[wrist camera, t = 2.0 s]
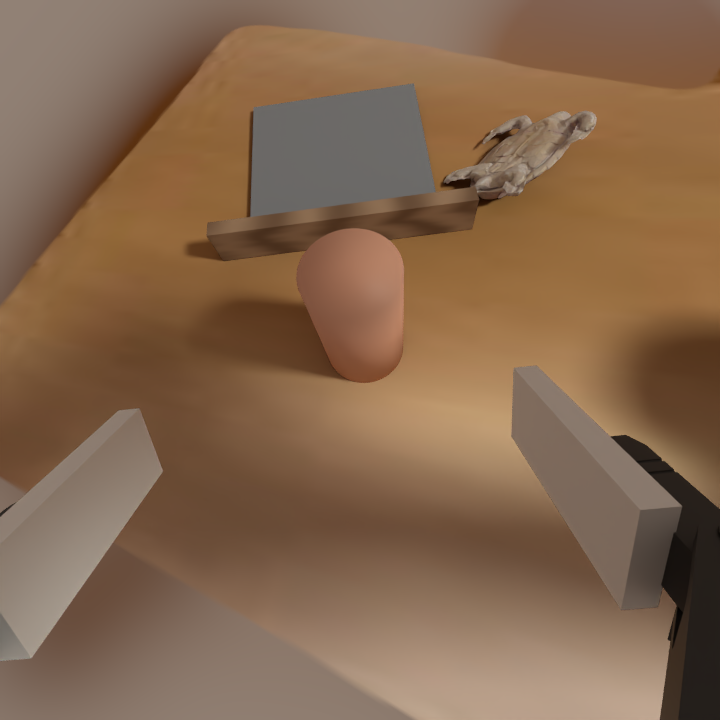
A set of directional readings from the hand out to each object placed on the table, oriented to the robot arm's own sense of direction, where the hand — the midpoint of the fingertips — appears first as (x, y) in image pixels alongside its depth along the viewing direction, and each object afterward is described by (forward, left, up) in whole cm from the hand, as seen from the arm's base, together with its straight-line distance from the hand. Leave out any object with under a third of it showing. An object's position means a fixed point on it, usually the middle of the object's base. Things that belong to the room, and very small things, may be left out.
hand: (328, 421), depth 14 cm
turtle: (-18, -30, -20) cm, 41 cm away
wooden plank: (0, -24, -20) cm, 31 cm away
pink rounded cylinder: (-1, -12, -20) cm, 23 cm away
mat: (0, -37, -20) cm, 42 cm away
